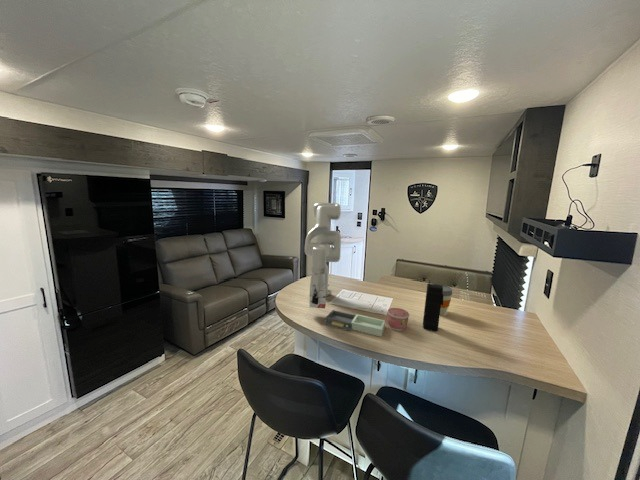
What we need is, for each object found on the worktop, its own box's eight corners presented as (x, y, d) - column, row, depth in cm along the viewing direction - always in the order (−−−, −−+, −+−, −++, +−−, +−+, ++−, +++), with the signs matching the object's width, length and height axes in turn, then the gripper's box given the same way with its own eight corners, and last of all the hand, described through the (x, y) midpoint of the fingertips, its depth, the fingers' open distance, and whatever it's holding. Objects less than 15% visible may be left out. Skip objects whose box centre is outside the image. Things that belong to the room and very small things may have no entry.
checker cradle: (333, 313, 141) (333, 308, 141) (358, 318, 136) (358, 313, 135) (323, 324, 129) (324, 319, 128) (350, 331, 123) (350, 325, 123)
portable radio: (438, 326, 131) (444, 280, 126) (440, 332, 125) (446, 284, 121) (422, 323, 133) (427, 278, 129) (423, 329, 128) (428, 281, 123)
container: (385, 329, 126) (386, 314, 125) (387, 320, 136) (388, 306, 134) (407, 334, 122) (409, 318, 121) (407, 324, 132) (409, 309, 131)
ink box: (325, 304, 140) (326, 284, 138) (325, 308, 136) (325, 288, 133) (310, 303, 141) (310, 283, 138) (309, 307, 136) (309, 287, 134)
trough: (356, 320, 134) (356, 314, 134) (384, 326, 128) (385, 320, 128) (350, 329, 125) (351, 322, 125) (381, 336, 119) (381, 329, 119)
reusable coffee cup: (443, 319, 139) (447, 293, 137) (421, 310, 148) (424, 286, 146) (453, 312, 147) (456, 288, 145) (431, 305, 157) (434, 282, 154)
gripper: (318, 264, 143) (317, 293, 147) (304, 273, 127) (304, 306, 131) (331, 266, 140) (329, 296, 144) (318, 276, 124) (317, 309, 128)
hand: (317, 300), depth 138 cm, fingers closed on ink box, 6 cm apart
